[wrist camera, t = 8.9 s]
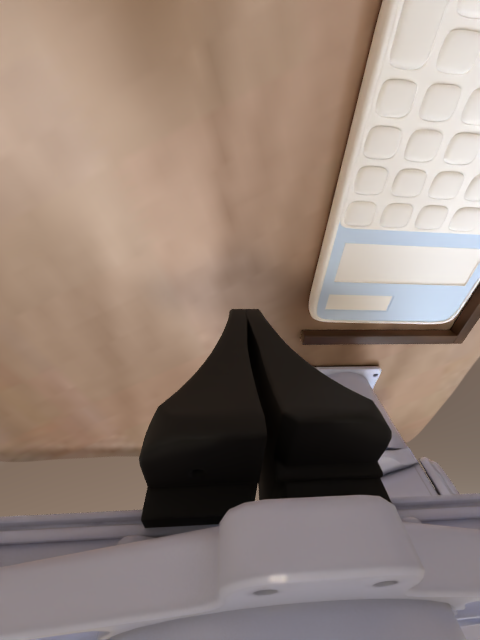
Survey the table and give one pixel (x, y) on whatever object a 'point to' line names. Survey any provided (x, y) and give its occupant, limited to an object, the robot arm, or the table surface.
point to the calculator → (408, 174)
